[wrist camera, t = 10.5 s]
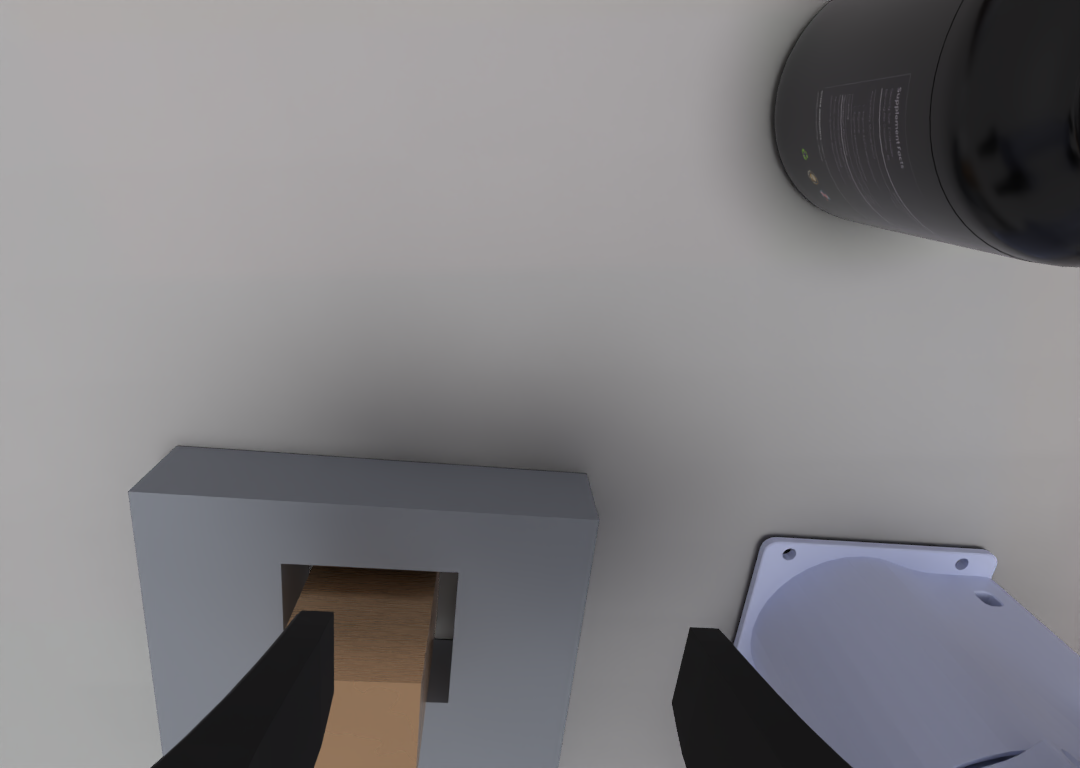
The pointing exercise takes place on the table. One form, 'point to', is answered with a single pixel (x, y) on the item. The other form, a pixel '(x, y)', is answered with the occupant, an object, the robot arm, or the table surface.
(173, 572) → the board with square hole
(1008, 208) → the supplement bottle
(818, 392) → the table surface
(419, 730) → the brown wooden block
